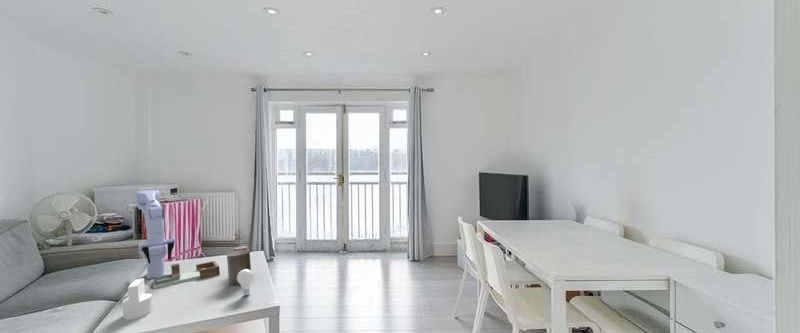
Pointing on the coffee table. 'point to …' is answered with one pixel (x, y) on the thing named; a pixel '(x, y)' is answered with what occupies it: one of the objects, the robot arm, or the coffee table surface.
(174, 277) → the rail
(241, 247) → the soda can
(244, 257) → the pillar candle
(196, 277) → the plate
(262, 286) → the coffee table surface
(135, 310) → the cylinder with rectangular tab
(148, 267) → the robot arm
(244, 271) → the lightbulb
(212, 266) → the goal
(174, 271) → the block
